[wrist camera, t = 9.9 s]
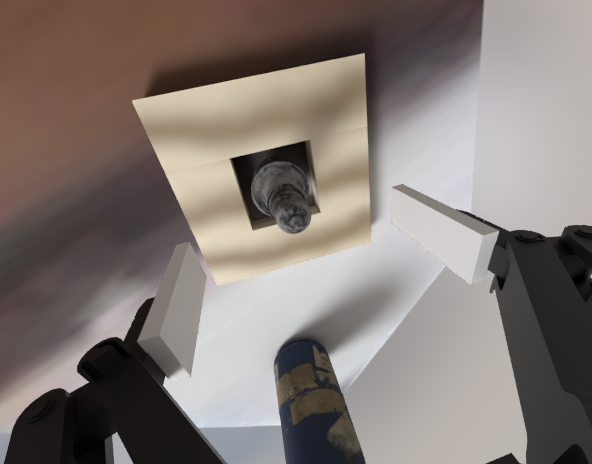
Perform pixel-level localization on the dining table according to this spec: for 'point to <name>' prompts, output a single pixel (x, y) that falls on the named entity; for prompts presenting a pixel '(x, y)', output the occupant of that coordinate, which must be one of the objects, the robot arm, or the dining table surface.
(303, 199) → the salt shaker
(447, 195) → the dining table surface
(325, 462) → the canister
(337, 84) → the socket
